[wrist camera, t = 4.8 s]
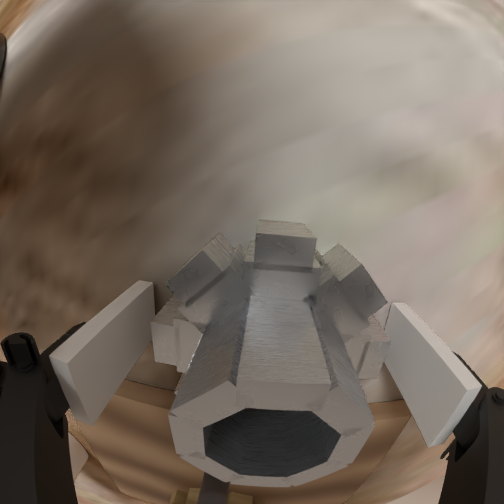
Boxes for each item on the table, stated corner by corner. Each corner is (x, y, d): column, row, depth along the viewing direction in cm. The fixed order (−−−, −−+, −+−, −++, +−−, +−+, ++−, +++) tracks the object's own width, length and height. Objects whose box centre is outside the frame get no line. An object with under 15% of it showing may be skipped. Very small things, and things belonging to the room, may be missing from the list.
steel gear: (176, 213, 11) (63, 257, 4) (382, 232, 11) (493, 292, 4) (181, 379, 13) (137, 482, 6) (341, 392, 13) (369, 498, 6)
